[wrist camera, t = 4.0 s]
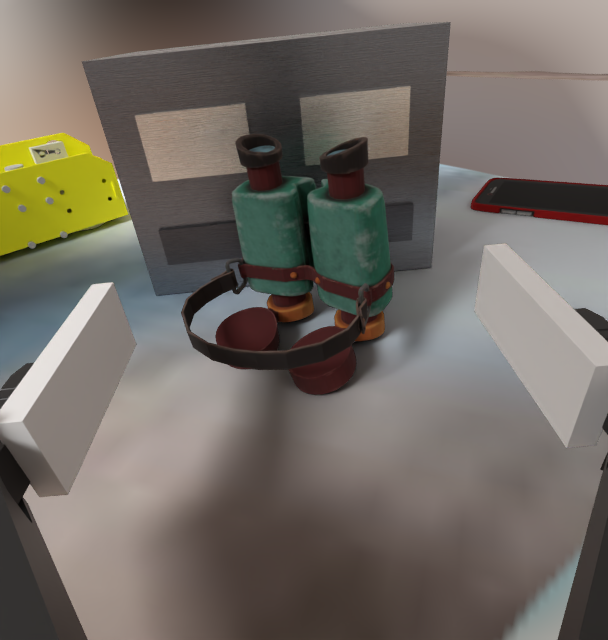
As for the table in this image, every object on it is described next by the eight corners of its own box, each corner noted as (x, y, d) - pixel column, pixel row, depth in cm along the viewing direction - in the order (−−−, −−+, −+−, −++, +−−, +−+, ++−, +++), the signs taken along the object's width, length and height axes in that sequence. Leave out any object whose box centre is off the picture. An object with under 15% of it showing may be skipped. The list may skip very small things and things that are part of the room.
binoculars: (96, 203, 17) (249, 120, 23) (183, 391, 23) (284, 286, 30) (295, 234, 13) (416, 122, 19) (333, 453, 19) (414, 316, 25)
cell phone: (677, 237, 32) (683, 224, 31) (467, 213, 39) (468, 203, 38) (673, 201, 37) (678, 190, 36) (489, 186, 44) (490, 176, 43)
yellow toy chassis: (109, 211, 48) (81, 128, 43) (132, 223, 44) (103, 133, 39) (-66, 266, 39) (-125, 169, 34) (-56, 286, 35) (-121, 181, 31)
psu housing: (155, 297, 30) (79, 62, 23) (182, 237, 39) (134, 52, 31) (432, 269, 30) (452, 22, 22) (398, 215, 39) (403, 23, 31)
